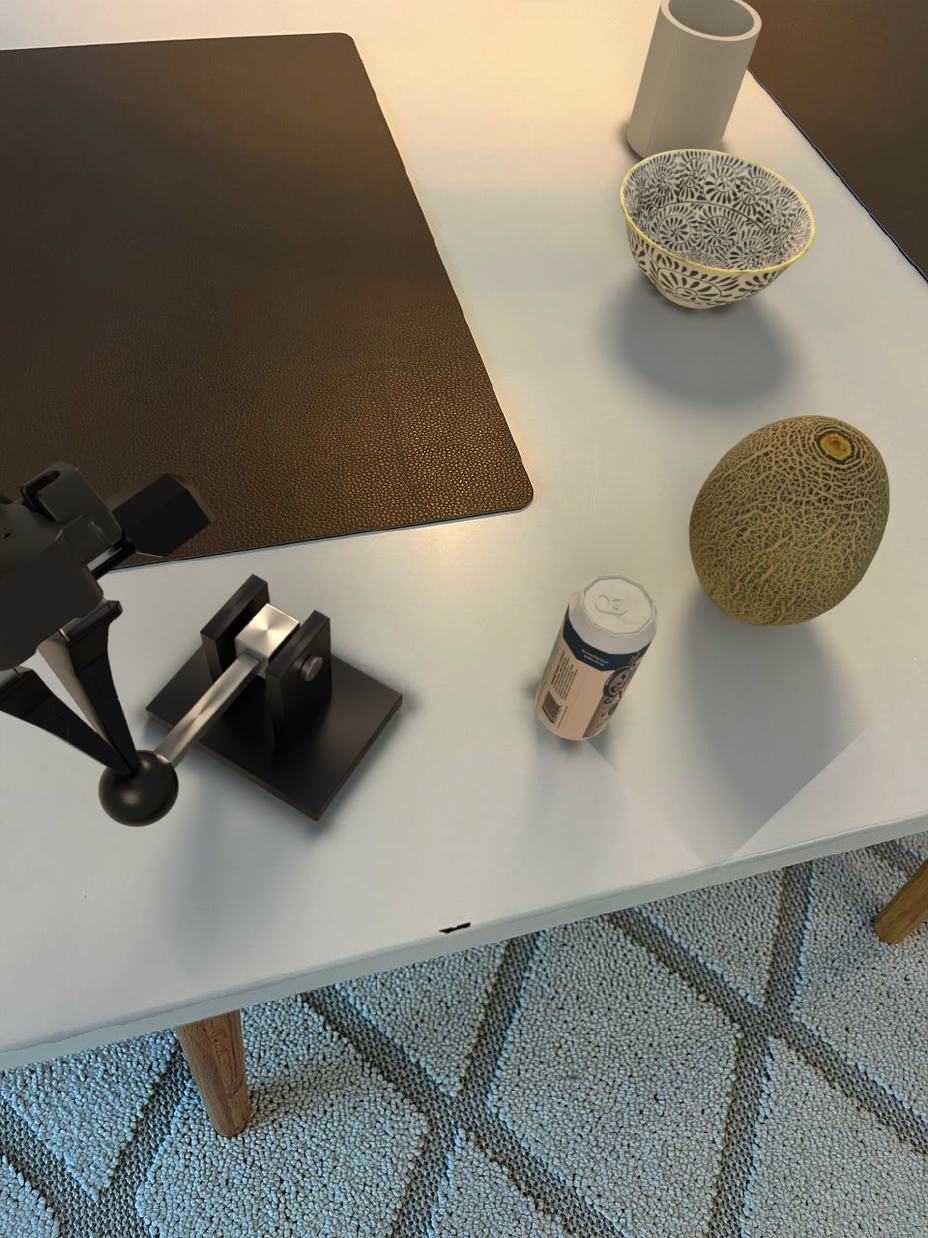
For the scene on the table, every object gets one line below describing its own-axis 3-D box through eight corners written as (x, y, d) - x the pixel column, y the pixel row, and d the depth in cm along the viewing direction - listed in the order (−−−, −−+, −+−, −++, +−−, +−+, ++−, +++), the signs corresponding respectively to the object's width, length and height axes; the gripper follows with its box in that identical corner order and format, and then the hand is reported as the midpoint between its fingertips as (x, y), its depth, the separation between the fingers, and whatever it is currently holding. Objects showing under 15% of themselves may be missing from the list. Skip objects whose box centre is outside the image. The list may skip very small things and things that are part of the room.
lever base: (316, 822, 53) (311, 750, 45) (148, 717, 56) (113, 630, 48) (402, 703, 58) (411, 618, 50) (243, 610, 60) (226, 514, 52)
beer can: (606, 750, 58) (661, 652, 48) (529, 736, 58) (568, 634, 48) (611, 682, 60) (665, 575, 50) (538, 668, 60) (576, 558, 50)
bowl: (668, 367, 77) (696, 290, 70) (566, 248, 83) (584, 169, 77) (816, 318, 82) (855, 242, 76) (709, 210, 89) (736, 133, 82)
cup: (608, 132, 94) (640, 2, 84) (669, 107, 98) (707, -21, 88) (674, 180, 91) (715, 50, 81) (735, 151, 94) (781, 24, 84)
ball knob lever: (148, 852, 45) (137, 823, 42) (89, 813, 46) (74, 781, 43) (311, 658, 52) (311, 621, 49) (258, 627, 53) (255, 588, 50)
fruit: (631, 562, 66) (698, 406, 53) (748, 501, 70) (835, 344, 57) (740, 688, 61) (842, 551, 49) (858, 615, 65) (980, 471, 53)
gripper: (-389, 641, 26) (-8, 997, 32) (147, 322, 35) (365, 651, 41) (-360, 626, 35) (-65, 908, 41) (62, 374, 44) (252, 638, 50)
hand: (130, 770), depth 43 cm, fingers closed, pressing on ball knob lever
